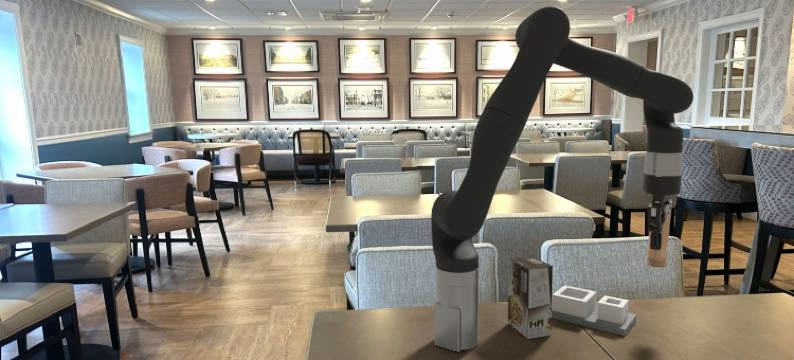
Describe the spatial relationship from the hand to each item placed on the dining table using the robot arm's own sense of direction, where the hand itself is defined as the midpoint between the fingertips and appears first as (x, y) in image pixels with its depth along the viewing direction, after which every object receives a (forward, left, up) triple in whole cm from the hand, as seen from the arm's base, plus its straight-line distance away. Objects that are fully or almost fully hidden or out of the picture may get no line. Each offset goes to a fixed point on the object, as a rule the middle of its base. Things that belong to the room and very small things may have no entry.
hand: (657, 246), depth 114 cm
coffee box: (-19, +22, -19) cm, 35 cm away
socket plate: (-5, +12, -19) cm, 23 cm away
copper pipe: (0, 0, -4) cm, 4 cm away
